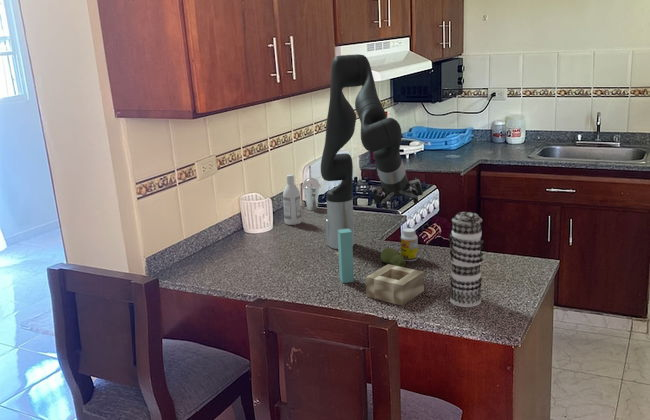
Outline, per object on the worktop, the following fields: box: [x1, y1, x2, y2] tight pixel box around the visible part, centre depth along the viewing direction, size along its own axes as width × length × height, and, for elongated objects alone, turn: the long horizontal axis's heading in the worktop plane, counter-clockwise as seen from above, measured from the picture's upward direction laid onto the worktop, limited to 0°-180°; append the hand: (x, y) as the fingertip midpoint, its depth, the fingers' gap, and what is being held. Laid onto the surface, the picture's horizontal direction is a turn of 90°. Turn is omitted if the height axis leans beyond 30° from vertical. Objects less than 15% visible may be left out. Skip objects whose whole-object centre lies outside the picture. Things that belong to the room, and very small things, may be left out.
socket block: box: [365, 264, 425, 306], centre depth 177 cm, size 12×12×6 cm
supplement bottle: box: [400, 227, 419, 263], centre depth 203 cm, size 6×6×10 cm
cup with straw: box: [301, 165, 321, 211], centre depth 269 cm, size 8×9×20 cm
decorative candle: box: [448, 211, 485, 308], centre depth 168 cm, size 9×9×25 cm
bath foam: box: [282, 174, 302, 226], centre depth 249 cm, size 7×7×20 cm
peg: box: [337, 229, 355, 284], centre depth 187 cm, size 4×4×16 cm
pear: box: [380, 247, 407, 268], centre depth 200 cm, size 6×5×10 cm
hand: (400, 204), depth 185 cm, fingers open, 8 cm apart
